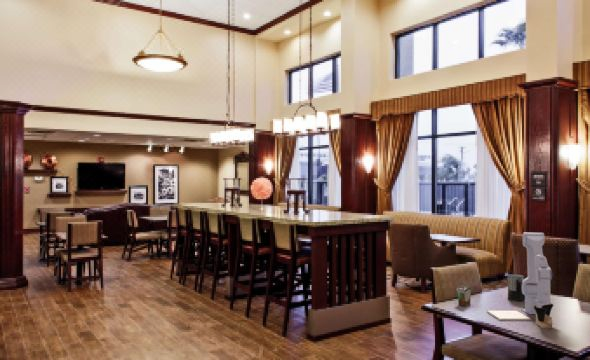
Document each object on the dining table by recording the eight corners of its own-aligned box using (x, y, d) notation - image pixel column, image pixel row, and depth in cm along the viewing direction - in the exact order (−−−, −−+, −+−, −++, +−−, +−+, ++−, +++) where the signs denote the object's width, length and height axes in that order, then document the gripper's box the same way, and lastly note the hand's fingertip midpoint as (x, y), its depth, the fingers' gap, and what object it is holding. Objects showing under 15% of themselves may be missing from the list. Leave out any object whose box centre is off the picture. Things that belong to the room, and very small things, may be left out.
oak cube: (545, 324, 214) (545, 314, 215) (551, 327, 210) (551, 317, 210) (535, 324, 214) (535, 314, 214) (541, 327, 209) (541, 317, 209)
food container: (460, 301, 256) (460, 284, 256) (471, 303, 252) (471, 286, 253) (453, 305, 247) (453, 288, 247) (464, 307, 243) (464, 290, 243)
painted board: (516, 312, 234) (516, 310, 234) (530, 320, 220) (530, 318, 220) (487, 312, 234) (487, 310, 234) (499, 320, 220) (499, 318, 220)
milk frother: (503, 298, 263) (503, 274, 263) (524, 296, 267) (524, 272, 268) (522, 304, 249) (522, 279, 249) (543, 302, 254) (543, 277, 254)
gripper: (539, 288, 220) (539, 315, 220) (529, 293, 210) (529, 321, 210) (555, 290, 215) (555, 318, 215) (545, 295, 205) (545, 324, 205)
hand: (543, 319), depth 212 cm, fingers open, 7 cm apart
